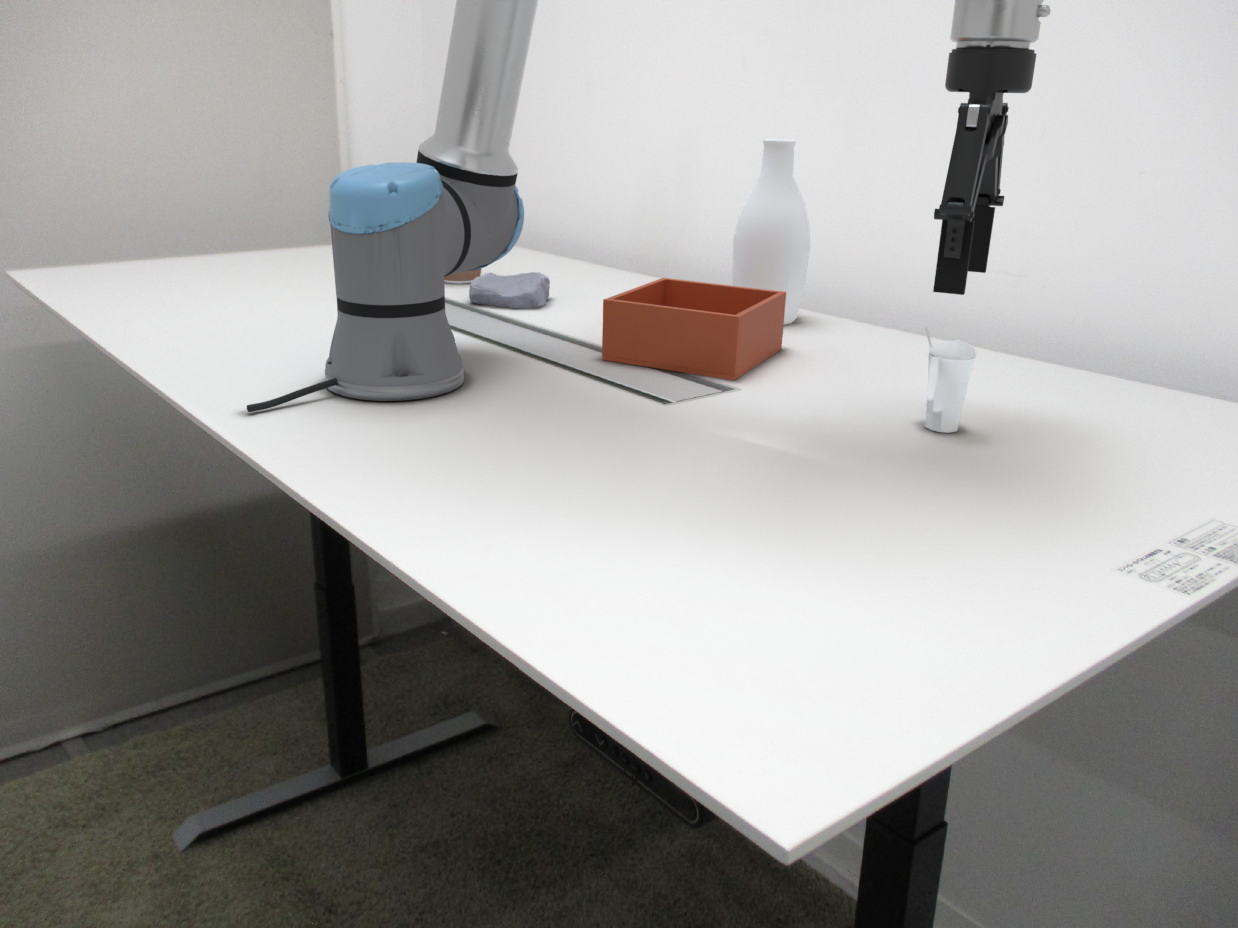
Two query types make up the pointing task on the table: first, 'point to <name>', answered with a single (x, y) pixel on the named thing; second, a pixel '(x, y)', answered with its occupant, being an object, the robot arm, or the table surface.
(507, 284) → the stone block
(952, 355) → the milkshake
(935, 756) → the table surface
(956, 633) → the table surface
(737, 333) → the bin
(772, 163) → the bottle
